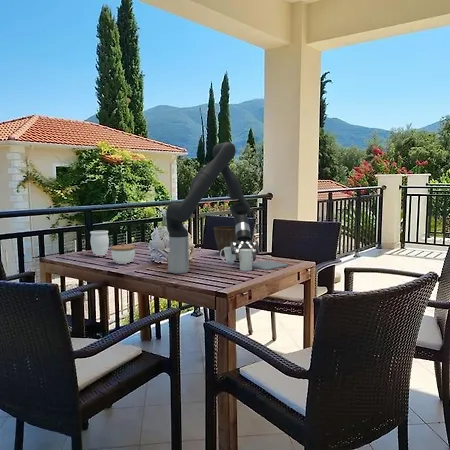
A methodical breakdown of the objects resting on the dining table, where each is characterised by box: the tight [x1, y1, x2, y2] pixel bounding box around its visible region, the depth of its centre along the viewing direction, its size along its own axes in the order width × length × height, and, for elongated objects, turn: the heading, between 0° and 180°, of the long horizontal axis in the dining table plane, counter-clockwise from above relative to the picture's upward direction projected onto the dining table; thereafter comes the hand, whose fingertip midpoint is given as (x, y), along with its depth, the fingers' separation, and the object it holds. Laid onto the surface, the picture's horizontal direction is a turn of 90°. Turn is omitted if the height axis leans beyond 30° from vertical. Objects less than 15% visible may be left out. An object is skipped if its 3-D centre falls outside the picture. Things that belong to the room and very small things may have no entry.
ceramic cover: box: [239, 249, 253, 272], centre depth 207 cm, size 6×6×10 cm
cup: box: [219, 246, 238, 264], centre depth 226 cm, size 7×10×8 cm
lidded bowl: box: [110, 242, 136, 264], centre depth 227 cm, size 13×13×11 cm
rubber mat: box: [252, 259, 289, 271], centre depth 216 cm, size 16×16×1 cm
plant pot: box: [213, 225, 237, 256], centre depth 250 cm, size 15×15×16 cm
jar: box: [89, 229, 110, 255], centre depth 248 cm, size 11×10×15 cm
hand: (246, 260), depth 206 cm, fingers open, 7 cm apart
